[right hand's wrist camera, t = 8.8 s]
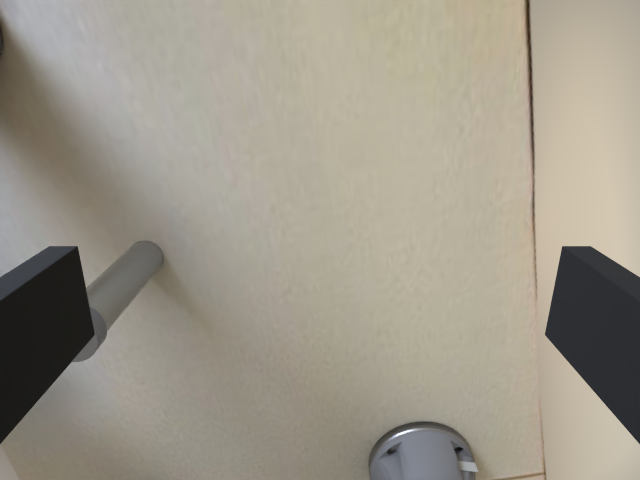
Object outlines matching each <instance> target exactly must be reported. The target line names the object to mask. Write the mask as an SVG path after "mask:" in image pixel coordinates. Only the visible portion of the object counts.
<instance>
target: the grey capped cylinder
mask: <svg viewBox="0 0 640 480" xmlns="http://www.w3.org/2000/svg"><path fill="white" fill-rule="evenodd" d="M163 259H164V258H163V253H162V251H161V249H160V248H159V247H158V246H157V245H156V244H154V243H152V242H149V241H140V242H137V243H135V244H134V245H133V246H132V247H131V248H130V249H129V250H128V251H126V252H125V253H124V254H123V255H122V256H121V257H120V258H119V259H118V260H117V261H115V262H114V263H113V264H112V265H111V266H110V267H109V268H108V269H107V270H106V271H105V272H103V273H102V274H101V275H100V276H99V277H98V278H97V279H96V280H95V281H94V282H92V283H91V284H90V285H89V286H88V287H87V288H86V291H87V296H88V302H89V306H90V307H92V308H94V309H95V310H96V311H98V312H99V313H100V314H101V316H102V317H103V318H104V320H105V323H106V326H107V331H108V329H109V328H110V327H111V326H112V325H113V323H114V322H115V321H116V320H117V319H118V317H119V316H120V315H121V314H122V313H123V311H124V310H125V309H126V308H127V307H128V305H129V304H130V303H131V302H132V300H133V299H134V298H135V297H136V296H137V294H138V293H139V292H140V291H141V290H142V288H143V287H144V286H145V285H146V284H147V282H148V281H149V280H150V279H151V278H152V276H153V275H154V274H155V273H156V272H157V270H158V269H159V268H160V267H161V265H162V263H163Z"/></svg>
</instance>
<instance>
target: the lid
mask: <svg viewBox="0 0 640 480" xmlns="http://www.w3.org/2000/svg"><path fill="white" fill-rule="evenodd" d="M89 307H90V306H89ZM90 312H91V317H92V322H93V327H94V332H95V335H94V336H93V338H92V339H91V340H90V341H89V342H88V343H87V345H86V346H85V347H84V348H83V349H82V350H81V351H80V353H79V354H78V355H77V356H76V357H75V358H74V360H73V361H72V362H79V361H83V360H86V359H88V358H90V357H91V356H92V355H93V354H94V353H95V352H96V350H97V349H98V348H99V347H100V345H101V344H102V343H103V342H104V340H105V338H106V335H107V326H106V323H105V320H104V318H103V317H102V316H101V314H100V313H99V312H98V311H96V310H95V309H94V308H92V307H90Z"/></svg>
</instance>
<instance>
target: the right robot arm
mask: <svg viewBox="0 0 640 480" xmlns="http://www.w3.org/2000/svg"><path fill="white" fill-rule="evenodd" d="M94 335H95V332H94V327H93V322H92V317H91V312H90V307H89V302H88V296H87V291H86V286H85V281H84V276H83V271H82V266H81V261H80V256H79V251H78V246H49V247H48V248H46V249H44V250H43V251H41V252H40V253H38V254H37V255H35V256H33V257H32V258H30V259H29V260H27V261H25V262H24V263H22V264H21V265H19V266H18V267H16V268H14V269H13V270H11V271H10V272H8V273H6V274H5V275H3V276H2V277H0V444H1V443H2V441H3V440H4V439H5V438H6V437H7V436H8V434H9V433H10V432H11V431H12V430H13V429H14V428H15V426H16V425H17V424H18V423H19V422H20V421H21V420H22V418H23V417H24V416H25V415H26V414H27V413H28V411H29V410H30V409H31V408H32V407H33V406H34V405H35V403H36V402H37V401H38V400H39V399H40V398H41V396H42V395H43V394H44V393H45V392H46V391H47V390H48V388H49V387H50V386H51V385H52V384H53V383H54V381H55V380H56V379H57V378H58V377H59V376H60V375H61V373H62V372H63V371H64V370H65V369H66V368H67V366H68V365H69V364H70V363H71V362H72V361H73V360H74V358H75V357H76V356H77V355H78V354H79V353H80V351H81V350H82V349H83V348H84V347H85V346H86V345H87V343H88V342H89V341H90V340H91V339H92V338H93V336H94ZM545 335H546V336H547V338H548V339H549V340H550V341H551V342H552V343H553V345H554V346H555V347H556V348H557V349H558V350H559V351H560V353H561V354H562V355H563V356H564V357H565V358H566V360H567V361H568V362H569V363H570V364H571V365H572V366H573V368H574V369H575V370H576V371H577V372H578V373H579V375H580V376H581V377H582V378H583V379H584V380H585V381H586V383H587V384H588V385H589V386H590V387H591V388H592V390H593V391H594V392H595V393H596V394H597V395H598V396H599V398H600V399H601V400H602V401H603V402H604V403H605V404H606V406H607V407H608V408H609V409H610V410H611V411H612V413H613V414H614V415H615V416H616V417H617V418H618V419H619V421H620V422H621V423H622V424H623V425H624V426H625V427H626V429H627V430H628V431H629V432H630V433H631V434H632V436H633V437H634V438H635V439H636V440H637V441H638V443H639V444H640V277H638V276H637V275H635V274H634V273H632V272H630V271H629V270H627V269H626V268H624V267H622V266H621V265H619V264H618V263H616V262H615V261H613V260H611V259H610V258H608V257H607V256H605V255H603V254H602V253H600V252H599V251H597V250H596V249H594V248H592V247H591V246H563V247H562V251H561V256H560V261H559V266H558V271H557V276H556V281H555V286H554V291H553V296H552V302H551V307H550V312H549V317H548V322H547V327H546V332H545ZM369 472H370V479H371V480H475V472H478V469H477V467H476V464H475V462H474V458H473V455H472V453H471V450H470V448H469V445H468V443H467V442H466V440H465V439H464V438H463V437H462V436H461V435H460V434H459V433H458V432H457V431H455V430H453V429H452V428H450V427H448V426H445V425H442V424H438V423H433V422H415V423H410V424H406V425H402V426H400V427H397V428H395V429H393V430H391V431H390V432H388V433H387V434H385V435H384V436H383V437H382V438H381V439H380V440H379V441H378V442H377V443H376V444H375V446H374V448H373V449H372V452H371V454H370V458H369Z"/></svg>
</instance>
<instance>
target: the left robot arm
mask: <svg viewBox="0 0 640 480" xmlns="http://www.w3.org/2000/svg"><path fill="white" fill-rule="evenodd" d="M1 48H2V36H1V30H0V53H1Z"/></svg>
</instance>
